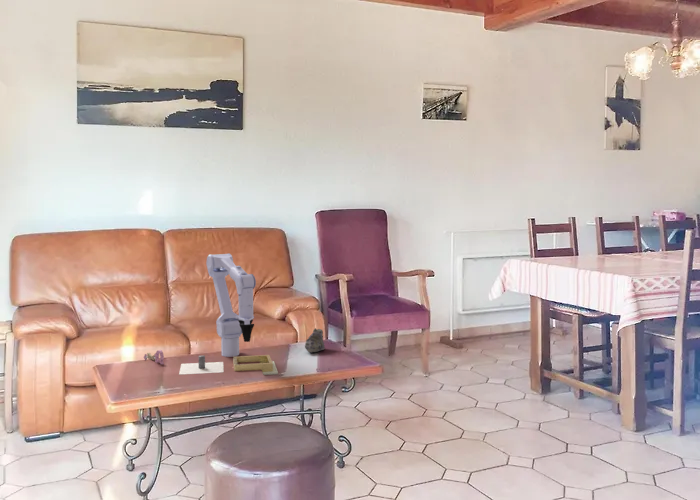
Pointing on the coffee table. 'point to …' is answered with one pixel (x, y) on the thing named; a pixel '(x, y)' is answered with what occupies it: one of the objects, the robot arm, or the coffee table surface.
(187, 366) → the post stand
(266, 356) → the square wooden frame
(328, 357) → the coffee table surface
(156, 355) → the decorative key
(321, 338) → the mineral rock
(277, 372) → the mat
